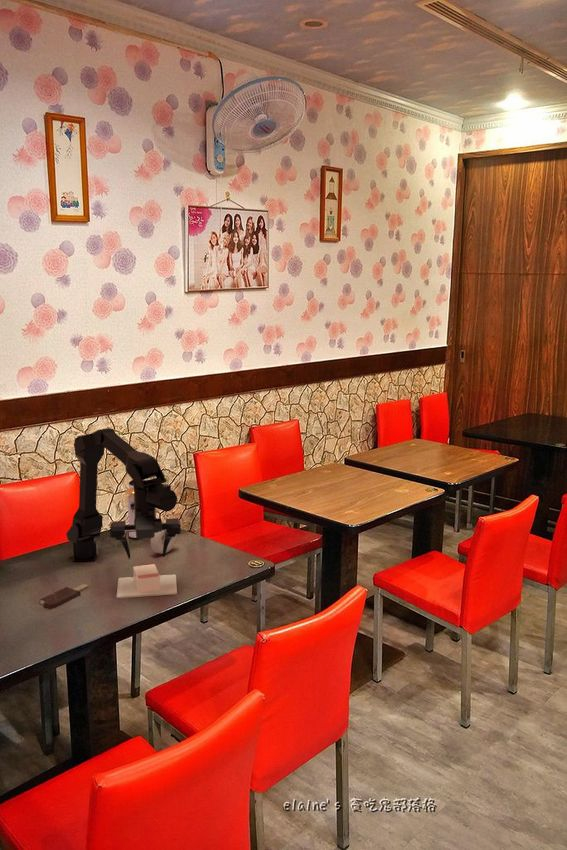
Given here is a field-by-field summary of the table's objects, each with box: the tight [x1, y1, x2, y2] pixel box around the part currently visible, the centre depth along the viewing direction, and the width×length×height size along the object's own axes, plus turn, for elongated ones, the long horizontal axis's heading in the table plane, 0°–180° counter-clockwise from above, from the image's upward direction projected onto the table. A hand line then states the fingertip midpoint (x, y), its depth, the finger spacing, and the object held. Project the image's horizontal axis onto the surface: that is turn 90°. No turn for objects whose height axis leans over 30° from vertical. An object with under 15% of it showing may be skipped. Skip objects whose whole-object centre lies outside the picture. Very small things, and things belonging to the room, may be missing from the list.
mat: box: [116, 574, 178, 599], centre depth 197 cm, size 16×12×1 cm
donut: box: [149, 521, 178, 555], centre depth 220 cm, size 10×4×10 cm, turn 143°
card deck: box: [132, 563, 161, 593], centre depth 196 cm, size 9×6×4 cm, turn 19°
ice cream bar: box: [39, 583, 89, 610], centre depth 190 cm, size 5×2×15 cm
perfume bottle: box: [125, 479, 138, 539], centre depth 231 cm, size 6×6×20 cm
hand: (146, 557), depth 195 cm, fingers open, 9 cm apart
